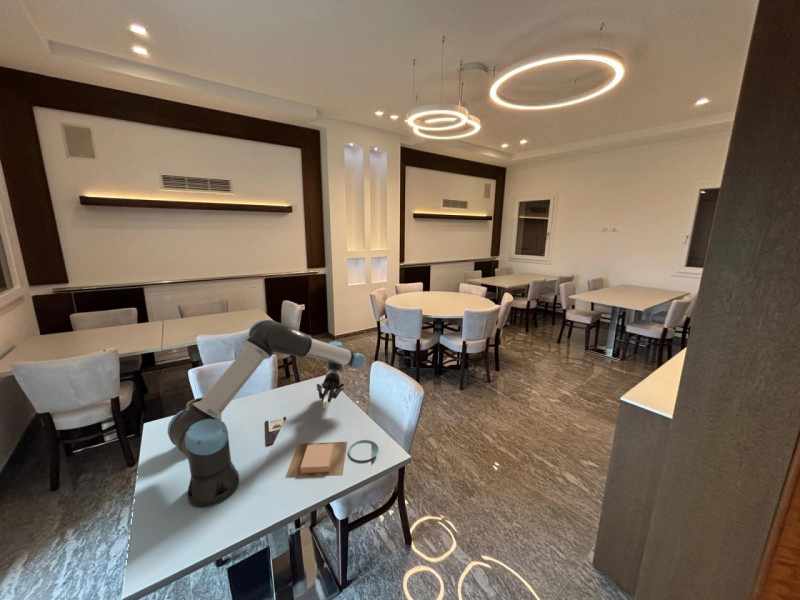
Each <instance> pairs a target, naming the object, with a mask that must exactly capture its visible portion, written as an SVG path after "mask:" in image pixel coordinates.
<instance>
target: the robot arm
mask: <svg viewBox="0 0 800 600" xmlns="http://www.w3.org/2000/svg"><path fill="white" fill-rule="evenodd" d="M244 343H245V348H244V349H243V350H242V351H241V352H240V353H239V355H238V356H237V357H236V358H235V360H234V361H233V362H232V363H231V364H230V365H229V367H228V368H227V369H226V370H225V371H224V373H223V374H222V375H221V376H220V377H219V378H218V380H217V381H216V382H215V383H214V384H213V385H212V387H211V388H210V389H209V390H208V391H207V392H206V393H205V395H204V396H202V397H203V399H202V400H201V401H199V402H195V403H193V404H192V405H191V406H190V407H189V408H188V409H186V408H185V409H184V410H180V411H178V412H177V413H176V414H175V415H173V417H172V418H171V420H169V421H170V422H169V423H168V425H167V435H168V438H169V440H170V442H171V443H172V444H173V445H174V446H176V448H177V449H179V451H180V452H181V453H182V454H183V455H185V456H184V457H186V458H187V460H188V465H189V471H190V479H189V483H188V488H187V500H188V503H189V504H190V506H192V507H194V508H208V507H212V506H215V505H218V504H219V503H222V502H223V501H225V500H227V499H228V498H229V497H230V496H232V495H233V494H234V492H235V491H237V489H238V487H239V485H240V482H241V481H240V474H239V471H238V470H237V469H236V467H235V465H234V464H233V462H232V458H231V457H232V456H231V450H230V448H231V447H230V440H229V431H228V428H227V425H226V424H225V422H224V421H222V413H223V412H224V410H225V409H226V408H227V407H228V405H229V404H230V403H231V402H232V400H234V398H235V396H237V395H238V393H239V391H240V390H241V389H242V388H243V387H244V385H245V384H246V383H247V381H248V380H250V378H251V377H252V375H253V374H254V373H255V372H256V370H257V369H258V367H260V365H261V364H262V363H263V361H264V360H267V359H268V360H269V359H270V358H271V357H272V356H273V355H274V354H275V353H276V354H280V355H288V356H293V357H294V356H295V357H298V358H304V357H309V358H314V359H318V360H322V361H326V362H327V373H326V375H325V378H324V380H323V382H322V383H321V384H320V383H317V384H316V390H317V392H318V397H319V399H320V400H321V402H322V408H324V409H325V408H326V409H327V408H328V404H329V403H331V402H332V400H333V399H334V400H335V399H337V397H338V396H339V394H340V393H341V392H342V391H343V390H344V389H345V383H341V379H342V376H343V372H344V366H345V367H349V368H352V369H355V370H356V369H357V370H359V369H361V368H362V367H363V366H364V363H365V356H364V355H363V354H362V353H359V352H356V351H352V350H350V349H347V348H343V344H342V342H340V341H337V340H336V341H330V342H329V343H327V342H324V341H322V340H318V339H315V338H312V336H311V335H309V334H307V333H305V332H302V331H301V330H300V331H299V330H298V329H296V328H294V327H292V326H290V325H287V324H285V323H281V322H278V321H276V320H273V319H261V320H258V321H257V322H255V323H253V324H252V326H251V327H250V329H249V332H248V338H247V339H246V340H245V342H244ZM322 389H324V390H322ZM322 391H323V392H322Z"/></svg>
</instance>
